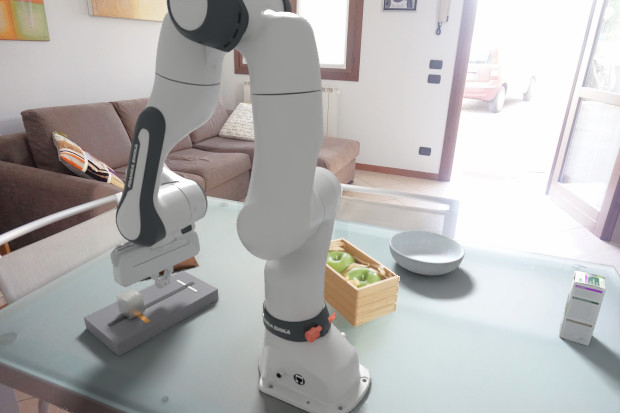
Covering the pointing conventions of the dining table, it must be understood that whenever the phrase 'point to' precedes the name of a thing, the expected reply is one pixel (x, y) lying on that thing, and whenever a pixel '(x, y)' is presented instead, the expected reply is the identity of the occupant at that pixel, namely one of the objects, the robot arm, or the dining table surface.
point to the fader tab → (130, 303)
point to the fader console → (151, 312)
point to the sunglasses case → (182, 266)
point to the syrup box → (582, 307)
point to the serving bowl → (426, 252)
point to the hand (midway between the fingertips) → (163, 285)
